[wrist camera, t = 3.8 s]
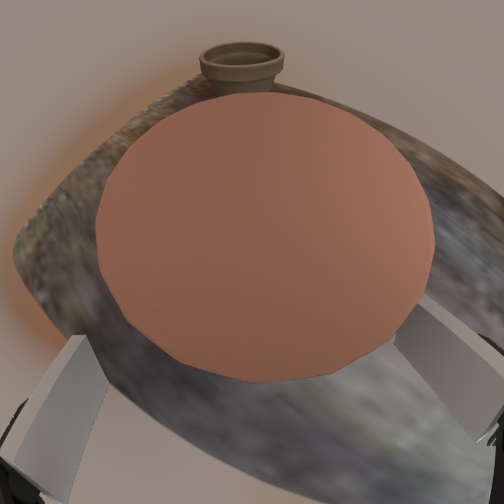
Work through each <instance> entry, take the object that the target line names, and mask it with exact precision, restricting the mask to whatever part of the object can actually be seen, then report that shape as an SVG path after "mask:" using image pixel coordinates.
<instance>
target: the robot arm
mask: <svg viewBox="0 0 504 504" xmlns="http://www.w3.org/2000/svg"><path fill="white" fill-rule="evenodd" d="M394 345H395V346H396V347H397V348H398V349H399V351H400V352H401V353H402V354H403V355H404V356H405V357H406V359H407V360H408V361H409V362H410V363H411V364H412V366H413V367H414V368H415V369H416V370H417V371H418V373H419V374H420V375H421V376H422V377H423V379H424V380H425V381H426V382H427V383H428V385H429V386H430V387H431V388H432V389H433V391H434V392H435V393H436V394H437V395H438V397H439V398H440V399H441V400H442V402H443V403H444V404H445V405H446V407H447V408H448V409H449V410H450V412H451V413H452V414H453V415H454V417H455V418H456V419H457V420H458V422H459V423H460V424H461V426H462V427H463V428H464V429H465V431H466V432H467V433H468V435H469V436H470V437H471V439H472V440H473V441H474V443H475V444H476V443H477V442H478V441H479V440H481V439H482V438H483V437H485V436H486V435H487V434H488V433H489V432H490V431H491V430H492V428H493V427H494V426H495V424H496V423H498V424H499V425H500V426H499V427H498V428H497V430H496V431H495V432H494V434H493V435H492V436H491V437H490V439H489V440H488V443H487V446H489V445H490V444H491V443H492V442H493V441H494V439H495V438H496V440H495V442H494V443H493V445H492V446H496V455H495V467H494V475H493V483H492V489H491V495H490V500H489V504H504V350H503V349H501V348H500V347H499V348H498V345H496V344H495V343H494V342H493V341H492V340H490V339H489V338H487V337H485V336H482V335H480V334H476V333H475V332H474V331H472V330H471V329H470V328H469V327H467V326H466V325H465V324H464V323H462V322H461V321H460V320H458V319H457V318H456V317H455V316H453V315H452V314H451V313H449V312H448V311H447V310H445V309H444V308H443V307H441V306H440V305H439V304H437V303H436V302H435V301H433V300H432V299H431V298H429V297H428V296H426V295H425V294H423V296H422V297H421V298H420V300H419V301H418V303H417V304H416V306H415V307H414V308H413V310H412V311H411V313H410V314H409V315H408V317H407V318H406V319H405V321H404V322H403V323H402V325H401V326H400V327H399V329H398V330H397V332H396V337H395V342H394ZM109 385H110V384H109V382H108V380H107V378H106V376H105V374H104V373H103V371H102V369H101V367H100V365H99V362H98V360H97V358H96V356H95V354H94V352H93V350H92V347H91V345H90V343H89V341H88V338H87V336H86V335H72V336H71V338H70V339H69V340H68V342H67V343H66V344H65V346H64V347H63V348H62V350H61V352H60V353H59V354H58V355H57V357H56V358H55V360H54V361H53V363H52V364H51V365H50V367H49V368H48V370H47V371H46V373H45V374H44V376H43V377H42V379H41V380H40V382H39V383H38V385H37V386H36V388H35V389H34V391H33V392H32V394H31V396H30V397H29V398H28V399H27V400H26V401H25V402H24V403H22V404H21V405H20V406H19V408H18V410H17V411H16V413H15V414H14V418H12V420H11V421H10V425H8V427H7V428H6V430H5V432H4V434H3V436H2V437H1V439H0V504H45V502H44V501H43V499H42V498H41V497H40V496H39V494H40V491H41V492H42V493H43V494H45V495H46V496H47V497H49V498H50V499H52V500H54V501H57V502H59V503H62V504H68V501H69V497H70V494H71V490H72V487H73V483H74V480H75V477H76V474H77V471H78V467H79V464H80V461H81V458H82V455H83V452H84V449H85V447H86V443H87V440H88V438H89V435H90V432H91V430H92V427H93V425H94V422H95V419H96V417H97V414H98V412H99V409H100V406H101V404H102V401H103V399H104V397H105V394H106V392H107V389H108V387H109Z"/></svg>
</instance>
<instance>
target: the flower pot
mask: <svg viewBox="0 0 504 504" xmlns="http://www.w3.org/2000/svg"><path fill="white" fill-rule="evenodd" d="M199 60H200V66H201V71H202V73H203V74H204V75H205V76H206V77H208V78H209V79H210V82H211V84H212V87H213V89H214V92H215V95H216V97H217V98H218V97H222V96H226V95H231V94H237V93H259V92H270V91H271V88H272V84H273V81H274V78H275V76H276V75H277V74H278V73H280V72H281V71H282V69H283V62H284V53H283V51H282V50H280V49H279V48H277V47H275V46H272V45H268V44H264V43H257V42H232V43H225V44H221V45H217V46H214V47H211V48H209V49H207V50H205V51H204V52H202V53H201V55H200V58H199Z"/></svg>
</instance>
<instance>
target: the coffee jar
mask: <svg viewBox="0 0 504 504" xmlns="http://www.w3.org/2000/svg"><path fill="white" fill-rule="evenodd" d="M95 230H96V242H97V252H98V261H99V269H100V272H101V274H102V276H103V278H104V280H105V282H106V284H107V286H108V288H109V290H110V291H111V293H112V295H113V297H114V299H115V301H116V302H117V304H118V306H119V308H120V309H121V311H122V313H123V315H124V316H125V318H126V320H127V321H128V322H129V323H130V324H131V325H132V326H134V327H135V328H136V329H137V330H138V331H140V332H141V333H142V334H143V335H145V336H146V337H147V338H148V339H150V340H151V341H152V342H153V343H155V344H156V345H157V346H159V347H160V348H161V349H162V350H164V351H165V352H166V353H168V354H169V355H170V356H172V357H173V358H174V359H176V360H177V361H179V362H180V363H182V364H186V365H189V366H192V367H195V368H198V369H202V370H205V371H208V372H212V373H215V374H219V375H223V376H226V377H230V378H234V379H238V380H242V381H246V382H251V383H264V382H275V381H285V380H293V379H301V378H308V377H315V376H322V375H328V374H331V373H333V372H335V371H337V370H339V369H341V368H343V367H345V366H347V365H348V364H350V363H352V362H354V361H356V360H357V359H359V358H361V357H363V356H364V355H366V354H368V353H369V352H371V351H373V350H374V349H376V348H378V347H379V346H381V345H383V344H384V343H386V342H387V341H389V340H390V339H391V337H392V336H393V335H394V334H395V332H396V331H397V330H398V329H399V327H400V326H401V325H402V323H403V322H404V321H405V319H406V318H407V317H408V315H409V314H410V313H411V311H412V310H413V308H414V307H415V306H416V304H417V303H418V301H419V300H420V298H421V297H422V296H423V294H424V291H425V287H426V284H427V280H428V276H429V272H430V267H431V263H432V258H433V254H434V249H435V239H434V231H433V223H432V217H431V210H430V205H429V201H428V199H427V196H426V194H425V192H424V190H423V188H422V186H421V184H420V182H419V180H418V178H417V176H416V174H415V172H414V170H413V169H412V167H411V165H410V164H409V163H408V161H407V160H406V159H405V158H404V157H403V156H402V155H401V153H400V152H399V151H398V150H397V149H396V148H395V147H394V146H393V145H392V144H391V143H390V142H389V141H388V139H387V138H386V137H385V136H384V135H382V134H381V133H380V132H378V131H377V130H375V129H374V128H372V127H371V126H369V125H368V124H366V123H365V122H363V121H362V120H360V119H359V118H357V117H356V116H354V115H352V114H351V113H349V112H346V111H344V110H342V109H339V108H337V107H334V106H332V105H329V104H326V103H324V102H321V101H318V100H315V99H312V98H307V97H301V96H296V95H289V94H283V93H276V92H259V93H237V94H231V95H226V96H222V97H218V98H213V99H209V100H206V101H202V102H198V103H195V104H193V105H191V106H189V107H186V108H184V109H182V110H180V111H178V112H176V113H174V114H172V115H170V116H168V117H166V118H164V119H162V120H161V121H159V122H158V123H157V124H155V125H154V126H153V127H152V128H151V129H149V130H148V131H147V132H146V133H145V134H143V135H142V136H141V137H140V138H139V139H137V140H136V141H135V142H134V143H133V144H132V145H131V146H130V147H129V148H128V149H127V151H126V152H125V154H124V155H123V156H122V158H121V159H120V161H119V162H118V164H117V165H116V167H115V168H114V170H113V171H112V173H111V174H110V176H109V177H108V179H107V181H106V184H105V187H104V191H103V194H102V197H101V201H100V204H99V208H98V212H97V215H96V219H95Z"/></svg>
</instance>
